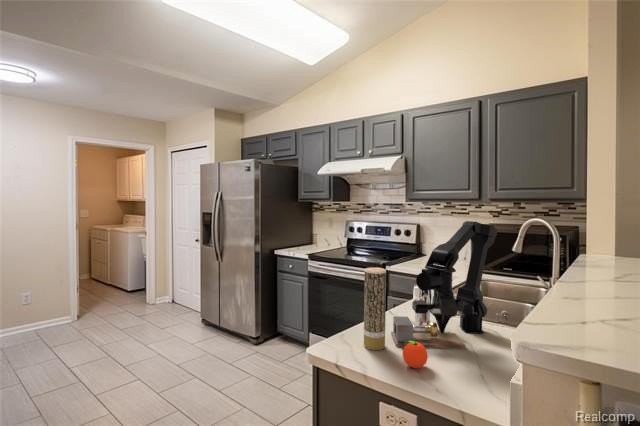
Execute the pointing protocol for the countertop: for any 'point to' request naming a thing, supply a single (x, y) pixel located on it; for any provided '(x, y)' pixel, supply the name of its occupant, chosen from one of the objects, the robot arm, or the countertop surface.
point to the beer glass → (427, 297)
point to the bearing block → (402, 329)
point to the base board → (435, 340)
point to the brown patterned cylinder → (374, 308)
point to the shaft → (427, 329)
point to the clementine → (415, 354)
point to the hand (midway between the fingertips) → (441, 332)
